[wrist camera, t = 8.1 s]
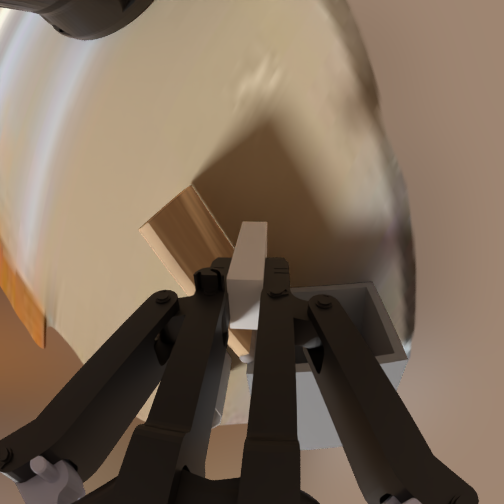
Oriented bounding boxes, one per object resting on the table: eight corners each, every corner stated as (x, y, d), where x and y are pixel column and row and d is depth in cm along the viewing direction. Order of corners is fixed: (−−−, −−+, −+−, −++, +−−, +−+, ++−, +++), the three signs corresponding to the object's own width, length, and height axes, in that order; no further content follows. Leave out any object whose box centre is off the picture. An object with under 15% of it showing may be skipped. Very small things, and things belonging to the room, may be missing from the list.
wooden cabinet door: (244, 298, 34) (231, 368, 24) (173, 196, 29) (125, 238, 20) (262, 290, 33) (256, 360, 24) (191, 184, 29) (149, 221, 19)
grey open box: (256, 289, 34) (246, 373, 23) (372, 281, 33) (408, 359, 21) (266, 376, 41) (262, 451, 30) (358, 370, 40) (373, 441, 28)
